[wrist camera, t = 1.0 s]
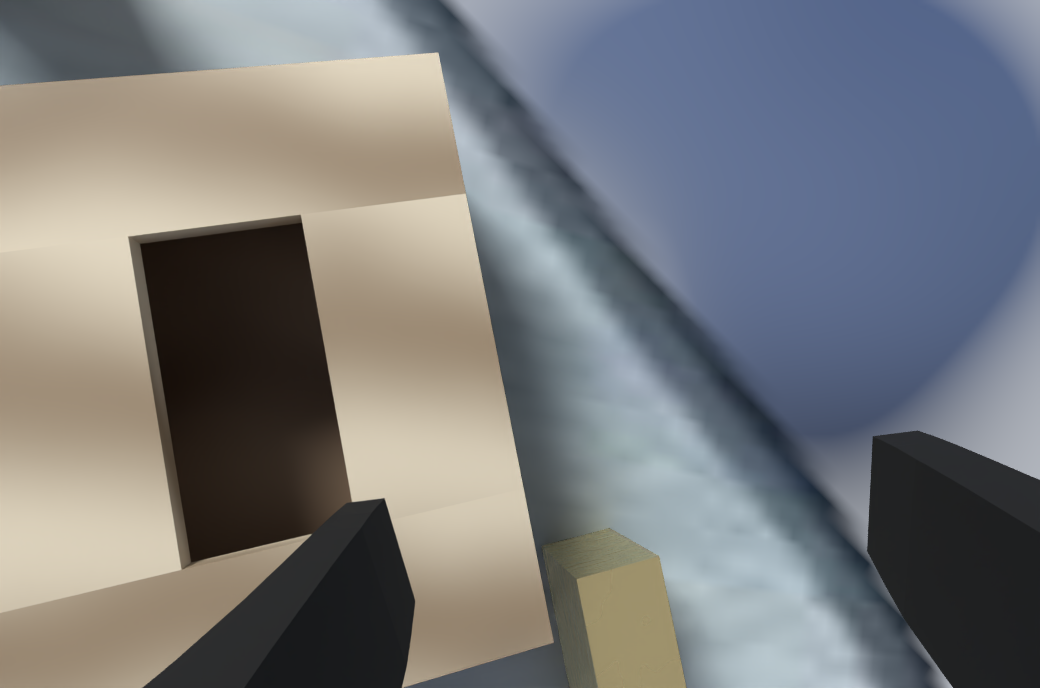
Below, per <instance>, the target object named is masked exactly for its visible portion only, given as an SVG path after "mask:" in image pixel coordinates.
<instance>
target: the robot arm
mask: <svg viewBox="0 0 1040 688" xmlns="http://www.w3.org/2000/svg"><path fill="white" fill-rule="evenodd" d="M867 552H868V554H869V555H870V557H871V559H872V561H873V563H874V565H875V567H876V569H877V571H878V573H879V574H880V576H881V578H882V580H883V582H884V584H885V586H886V588H887V589H888V591H889V593H890V595H891V597H892V598H893V600H894V602H895V604H896V605H897V607H898V609H899V611H900V612H901V614H902V616H903V618H904V619H905V621H906V622H907V623H908V625H909V626H910V628H911V629H912V631H913V632H914V634H915V635H916V636H917V638H918V639H919V641H920V642H921V643H922V645H923V646H924V648H925V649H926V650H927V652H928V653H929V655H930V656H931V658H932V659H933V660H934V662H935V663H936V665H937V666H938V667H939V669H940V670H941V672H942V673H943V674H944V676H945V677H946V679H947V680H948V681H949V683H950V684H951V685H952V687H953V688H1040V480H1038V479H1036V478H1034V477H1031V476H1029V475H1026V474H1024V473H1022V472H1020V471H1017V470H1015V469H1013V468H1010V467H1008V466H1006V465H1003V464H1001V463H999V462H996V461H994V460H991V459H989V458H986V457H984V456H982V455H980V454H977V453H975V452H972V451H969V450H967V449H965V448H963V447H960V446H958V445H955V444H953V443H950V442H948V441H945V440H943V439H940V438H937V437H934V436H932V435H929V434H926V433H923V432H920V431H912V432H903V433H895V434H888V435H880V436H873V444H872V465H871V485H870V505H869V526H868V546H867ZM414 609H415V598H414V594H413V591H412V588H411V584H410V581H409V578H408V574H407V571H406V568H405V564H404V561H403V558H402V554H401V551H400V548H399V544H398V541H397V538H396V534H395V531H394V528H393V524H392V521H391V518H390V514H389V511H388V508H387V504H386V501H385V498H381V499H373V500H365V501H357V502H349V503H346V504H345V505H344V506H342V507H341V508H340V509H339V510H338V511H336V512H335V513H334V514H333V515H332V516H331V517H330V518H329V519H328V520H327V521H325V522H324V523H323V524H322V525H321V526H320V527H319V528H318V529H317V530H316V531H315V532H314V533H313V534H312V535H311V536H310V537H309V538H308V539H307V540H306V541H305V542H303V543H302V544H301V545H300V546H299V547H298V548H297V549H296V550H295V551H294V552H293V553H292V554H291V555H290V556H289V557H288V558H287V559H286V560H285V561H284V562H283V563H282V564H281V565H280V566H279V567H277V568H276V569H275V570H274V571H273V572H272V573H271V574H270V575H269V576H268V577H267V578H266V579H265V580H264V581H263V582H262V583H261V584H260V585H259V586H258V587H257V588H255V589H254V590H253V591H252V592H251V593H250V594H249V595H248V596H247V597H246V598H245V599H244V600H243V601H242V602H241V603H239V604H238V605H237V606H236V607H235V608H234V609H233V610H232V611H230V612H229V613H228V614H227V615H226V616H225V617H224V618H223V619H221V620H220V621H219V622H218V623H217V624H216V625H215V626H214V627H212V628H211V629H210V630H209V631H208V632H207V633H206V634H205V635H203V636H202V637H201V638H200V639H199V640H198V641H197V642H196V643H194V644H193V645H192V646H191V647H190V648H189V649H188V650H186V651H185V652H184V653H183V654H182V655H181V656H180V657H179V658H177V659H176V660H175V661H174V662H173V663H172V664H170V665H169V666H168V667H167V668H166V669H164V670H163V671H162V672H161V673H160V674H158V675H157V676H156V677H155V678H153V679H152V680H151V681H150V682H149V683H147V684H146V685H145V686H144V687H142V688H402V685H403V681H404V677H405V672H406V668H407V662H408V655H409V648H410V641H411V634H412V626H413V617H414Z"/></svg>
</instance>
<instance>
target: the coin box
mask: <svg viewBox="0 0 1040 688" xmlns="http://www.w3.org/2000/svg"><path fill="white" fill-rule="evenodd" d="M381 498H385V501H386V504H387V508H388V511H389V514H390V518H391V521H392V524H393V528H394V531H395V534H396V538H397V541H398V544H399V548H400V551H401V554H402V558H403V561H404V564H405V568H406V571H407V574H408V578H409V581H410V584H411V588H412V591H413V594H414V598H415V609H414V617H413V626H412V634H411V641H410V648H409V655H408V662H407V668H406V672H405V677H404V681H403V685H402V688H404V687H407V686H410V685H414V684H417V683H420V682H424V681H427V680H430V679H434V678H437V677H440V676H444V675H447V674H450V673H454V672H457V671H461V670H464V669H467V668H471V667H474V666H477V665H481V664H484V663H487V662H491V661H494V660H497V659H501V658H504V657H507V656H511V655H514V654H518V653H521V652H524V651H528V650H531V649H534V648H538V647H541V646H544V645H548V644H551V643H554V641H553V636H552V631H551V626H550V621H549V616H548V611H547V605H546V600H545V595H544V590H543V585H542V580H541V575H540V570H539V565H538V560H537V554H536V549H535V544H534V539H533V534H532V529H531V524H530V519H529V514H528V508H527V503H526V498H525V493H524V488H523V483H522V478H521V473H520V468H519V463H518V457H517V452H516V447H515V442H514V437H513V432H512V427H511V422H510V417H509V411H508V406H507V401H506V396H505V391H504V386H503V381H502V376H501V371H500V366H499V360H498V355H497V350H496V345H495V340H494V335H493V330H492V325H491V320H490V314H489V309H488V304H487V299H486V294H485V289H484V284H483V279H482V274H481V269H480V263H479V258H478V253H477V248H476V243H475V238H474V233H473V228H472V223H471V217H470V212H469V207H468V202H467V197H466V192H465V187H464V182H463V177H462V172H461V166H460V161H459V156H458V151H457V146H456V141H455V136H454V131H453V126H452V120H451V115H450V110H449V105H448V100H447V95H446V90H445V85H444V80H443V75H442V69H441V64H440V59H439V54H438V53H428V54H414V55H401V56H388V57H374V58H361V59H348V60H334V61H321V62H308V63H294V64H281V65H268V66H254V67H241V68H228V69H214V70H201V71H188V72H175V73H161V74H148V75H135V76H121V77H108V78H95V79H81V80H68V81H55V82H41V83H28V84H15V85H1V86H0V688H142V687H144V686H145V685H146V684H147V683H149V682H150V681H151V680H152V679H153V678H155V677H156V676H157V675H158V674H160V673H161V672H162V671H163V670H164V669H166V668H167V667H168V666H169V665H170V664H172V663H173V662H174V661H175V660H176V659H177V658H179V657H180V656H181V655H182V654H183V653H184V652H185V651H186V650H188V649H189V648H190V647H191V646H192V645H193V644H194V643H196V642H197V641H198V640H199V639H200V638H201V637H202V636H203V635H205V634H206V633H207V632H208V631H209V630H210V629H211V628H212V627H214V626H215V625H216V624H217V623H218V622H219V621H220V620H221V619H223V618H224V617H225V616H226V615H227V614H228V613H229V612H230V611H232V610H233V609H234V608H235V607H236V606H237V605H238V604H239V603H241V602H242V601H243V600H244V599H245V598H246V597H247V596H248V595H249V594H250V593H251V592H252V591H253V590H254V589H255V588H257V587H258V586H259V585H260V584H261V583H262V582H263V581H264V580H265V579H266V578H267V577H268V576H269V575H270V574H271V573H272V572H273V571H274V570H275V569H276V568H277V567H279V566H280V565H281V564H282V563H283V562H284V561H285V560H286V559H287V558H288V557H289V556H290V555H291V554H292V553H293V552H294V551H295V550H296V549H297V548H298V547H299V546H300V545H301V544H302V543H303V542H305V541H306V540H307V539H308V538H309V537H310V536H311V535H312V534H313V533H314V532H315V531H316V530H317V529H318V528H319V527H320V526H321V525H322V524H323V523H324V522H325V521H327V520H328V519H329V518H330V517H331V516H332V515H333V514H334V513H335V512H336V511H338V510H339V509H340V508H341V507H342V506H344V505H345V504H346V503H349V502H357V501H365V500H373V499H381Z"/></svg>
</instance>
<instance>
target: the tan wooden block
mask: <svg viewBox="0 0 1040 688" xmlns="http://www.w3.org/2000/svg"><path fill="white" fill-rule="evenodd" d="M542 551H543V556H544V561H545V566H546V571H547V576H548V581H549V586H550V591H551V596H552V601H553V606H554V612H555V617H556V622H557V627H558V632H559V637H560V642H561V647H562V652H563V657H564V662H565V668H566V673H567V678H568V683H569V688H686V683H685V678H684V673H683V669H682V664H681V659H680V654H679V649H678V645H677V640H676V635H675V630H674V625H673V621H672V616H671V611H670V606H669V601H668V597H667V592H666V587H665V582H664V577H663V573H662V568H661V563H660V558H659V556H658V555H656V554H654V553H653V552H651V551H649V550H647V549H645V548H644V547H642V546H640V545H638V544H637V543H635V542H633V541H631V540H630V539H628V538H626V537H624V536H623V535H621V534H619V533H617V532H616V531H614V530H612V529H610V528H608V529H604V530H600V531H597V532H593V533H589V534H585V535H581V536H577V537H574V538H570V539H566V540H562V541H558V542H554V543H551V544H547V545H543V546H542Z"/></svg>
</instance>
